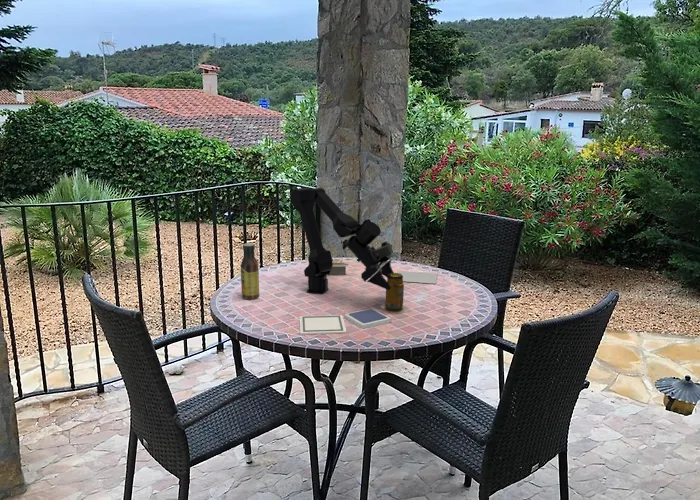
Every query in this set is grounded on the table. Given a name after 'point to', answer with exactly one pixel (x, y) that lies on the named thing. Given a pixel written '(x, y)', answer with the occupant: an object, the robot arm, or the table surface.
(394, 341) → the table surface
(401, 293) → the condiment
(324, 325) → the marked board
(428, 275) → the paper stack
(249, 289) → the sauce bottle
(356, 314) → the ink pad
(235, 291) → the table surface
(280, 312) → the table surface
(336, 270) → the platform
